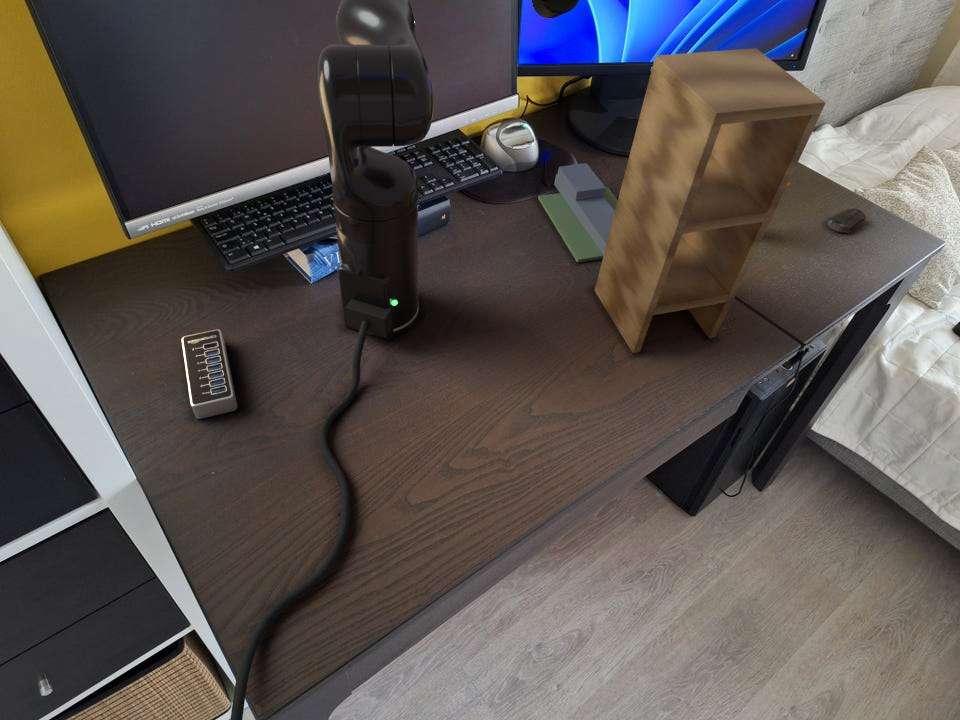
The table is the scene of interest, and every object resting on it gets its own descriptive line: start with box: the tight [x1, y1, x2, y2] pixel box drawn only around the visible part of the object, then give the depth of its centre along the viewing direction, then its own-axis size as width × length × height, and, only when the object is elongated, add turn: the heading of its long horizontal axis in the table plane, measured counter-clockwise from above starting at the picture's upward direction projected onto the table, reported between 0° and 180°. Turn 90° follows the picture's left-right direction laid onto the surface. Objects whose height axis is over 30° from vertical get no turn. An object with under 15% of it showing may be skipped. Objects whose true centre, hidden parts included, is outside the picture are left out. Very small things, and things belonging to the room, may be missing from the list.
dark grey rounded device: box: [827, 208, 867, 234], centre depth 105 cm, size 4×6×2 cm, turn 130°
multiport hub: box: [181, 329, 238, 420], centre depth 76 cm, size 4×11×2 cm, turn 22°
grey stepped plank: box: [554, 162, 615, 255], centre depth 100 cm, size 21×5×4 cm, turn 19°
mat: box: [537, 186, 618, 264], centre depth 101 cm, size 16×12×1 cm
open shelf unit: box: [594, 47, 827, 354], centre depth 77 cm, size 12×12×32 cm
